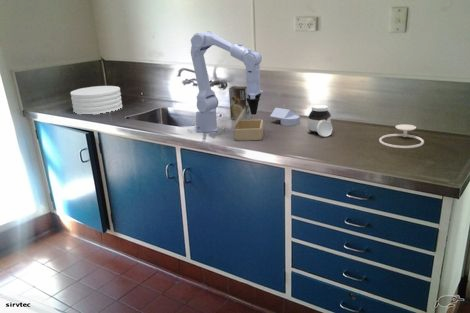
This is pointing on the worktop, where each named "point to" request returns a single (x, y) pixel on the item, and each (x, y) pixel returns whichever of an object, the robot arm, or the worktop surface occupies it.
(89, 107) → the plate stack
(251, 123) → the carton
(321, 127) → the spread jar
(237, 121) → the lid flap
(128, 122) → the worktop surface
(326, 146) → the worktop surface
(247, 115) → the coffee box
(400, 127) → the hand towel holder
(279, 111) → the wedge on round base
